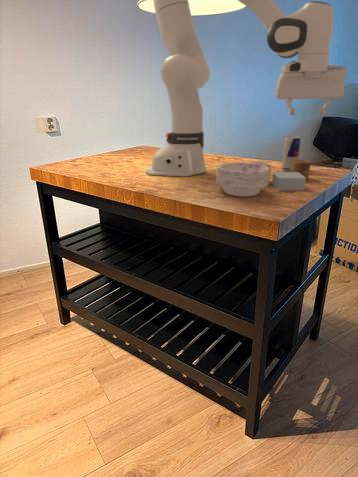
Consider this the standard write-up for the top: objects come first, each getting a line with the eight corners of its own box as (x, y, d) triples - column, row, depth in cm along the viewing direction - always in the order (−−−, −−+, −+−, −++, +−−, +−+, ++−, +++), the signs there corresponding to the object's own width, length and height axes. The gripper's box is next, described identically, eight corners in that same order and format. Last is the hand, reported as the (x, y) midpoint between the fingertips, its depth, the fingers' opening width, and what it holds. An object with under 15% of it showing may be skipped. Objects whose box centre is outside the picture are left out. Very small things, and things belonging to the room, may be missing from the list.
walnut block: (292, 180, 118) (295, 162, 115) (289, 177, 122) (291, 159, 120) (308, 180, 118) (310, 162, 115) (304, 177, 122) (306, 159, 120)
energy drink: (297, 172, 129) (301, 138, 124) (282, 171, 130) (285, 138, 125) (296, 169, 134) (299, 136, 129) (281, 168, 135) (284, 136, 130)
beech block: (254, 184, 114) (256, 166, 112) (248, 180, 119) (249, 163, 116) (269, 183, 115) (270, 165, 113) (262, 179, 120) (264, 162, 117)
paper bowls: (266, 186, 112) (268, 161, 108) (269, 201, 98) (271, 172, 95) (217, 185, 114) (218, 160, 111) (214, 199, 100) (214, 171, 97)
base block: (278, 191, 108) (279, 178, 106) (271, 184, 115) (272, 172, 113) (304, 190, 108) (306, 178, 106) (296, 184, 115) (298, 172, 113)
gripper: (343, 65, 109) (336, 113, 114) (276, 67, 110) (272, 114, 115) (351, 64, 103) (344, 114, 108) (280, 65, 104) (276, 115, 109)
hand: (306, 114), depth 112 cm, fingers open, 8 cm apart
